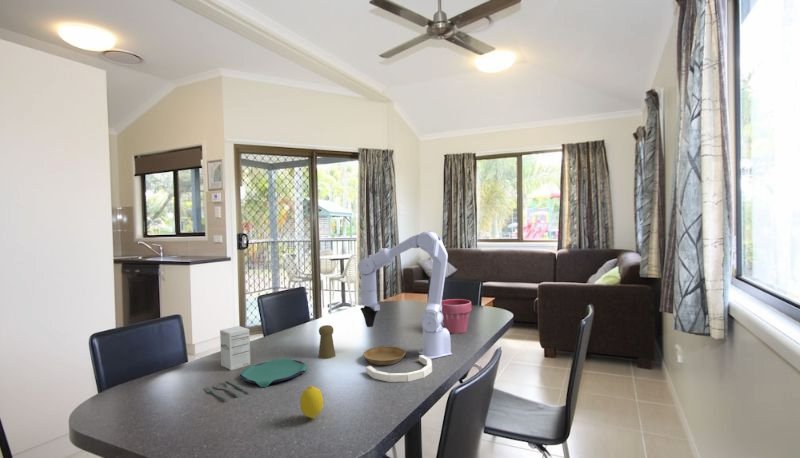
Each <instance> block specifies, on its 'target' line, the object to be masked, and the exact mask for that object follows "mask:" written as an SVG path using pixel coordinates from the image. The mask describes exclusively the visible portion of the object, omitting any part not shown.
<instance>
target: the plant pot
mask: <svg viewBox="0 0 800 458" xmlns="http://www.w3.org/2000/svg"><path fill="white" fill-rule="evenodd" d="M441 304H442V314H443V321H442V324H443V328H446V329H447V330H448V331H449V333H450V334H454V335H456V334H459V333H460V334H465V333H466V332H467V330H468V325H469V319H470V314H471V313H470V312H472V301H471V300H469V299H462V298H453V299H450V298H449V299H442V303H441ZM460 334H459V335H460Z"/></svg>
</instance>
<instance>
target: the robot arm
mask: <svg viewBox="0 0 800 458" xmlns="http://www.w3.org/2000/svg"><path fill="white" fill-rule="evenodd" d="M418 248H419V249H421V250H423V251H424V252H425V253H427V254H428V255H429V256H430V257H431V258H432V261H433V262H432V267H431V268H432V269H431V275H430V282H429V291H428V297H427V298H428V299H427V303H426V305H425V310H424V314H423V316H422V317H421V320H420V325H421V327H422V348H423V349H422V351H418V354H419V355H424V356H426V357H428V358H430V359H431V360H433V359H438V358H442V357H446V356H451V355H453V353H452V352H451V349H452V346H451V335H450V334H451V333H449V331H448V330H447V329H446V328H445V327H444V326H443V325H442V324H443V314H442V304H441V303H442V300H443V293H444V286H445V282H446V281H445V280H446V273H447V266H448V258H449V255H448V251H447V249H446V247H445V244H444V243H443V240H442V237H440V235H439V234H438V233H436V232H435V231H431V230H430V231H423V232H421V233H418V234H416V235H412V236H410V237H409V238H407V239H405V240H403V241H401V242H400V243H399V244H397V245H395V246H393V247H391V248H386V247H384V248H383V247H382V248H379V249H378V251H376V253H373V254H370V255H369V254H368V257H367V258H362V259H361V260H360V261H359V262H358V265H357V268H358V272H359V274H360V293H361V294H360V297H361V298H360V299H359V302H358V305H359V306H363V307H360V311H361V313H362V314H363V318H364V321H365V325H366V327H367V328H372V327H374V323H375V319H376V315H377V313H378V311H381V307H380V305H381V304H379V302H378V299H377V298H378V296H377V295H378V294H377V270H380V269H381V268H384V267H385V266H387V265H389V264H391V263H393V262H394V260H395V257H396V256H398V255H400V254H402V253H404V252H406V251H408V250H410V249H418Z"/></svg>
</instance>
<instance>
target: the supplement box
mask: <svg viewBox="0 0 800 458" xmlns="http://www.w3.org/2000/svg"><path fill="white" fill-rule="evenodd" d="M219 334H220V335H219V336H220V341H219V342H220V367H223V368H226V369H228V370H229V371H235V370H238V369H242V368H244V367H247V366H248V367H249V366H251V344H250V341H251V340H250V338H251V337H250V329H249V328H246V327H243V326H240V325H237V326H231V327H227V328H223V329H220V330H219Z"/></svg>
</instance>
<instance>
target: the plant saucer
mask: <svg viewBox="0 0 800 458" xmlns="http://www.w3.org/2000/svg"><path fill="white" fill-rule="evenodd" d="M362 354H363V357H364V358H365V360H367V362H369V363H370V364H372V365H377V366H390V365H394V364H397V363H399V362H400V361H402V359H403V358H404V356H405V355H406V350H404V349H403V348H400V347H397V346H377V347H372V348H368V349H367V350H365V351H364V352H363V353H362Z"/></svg>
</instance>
